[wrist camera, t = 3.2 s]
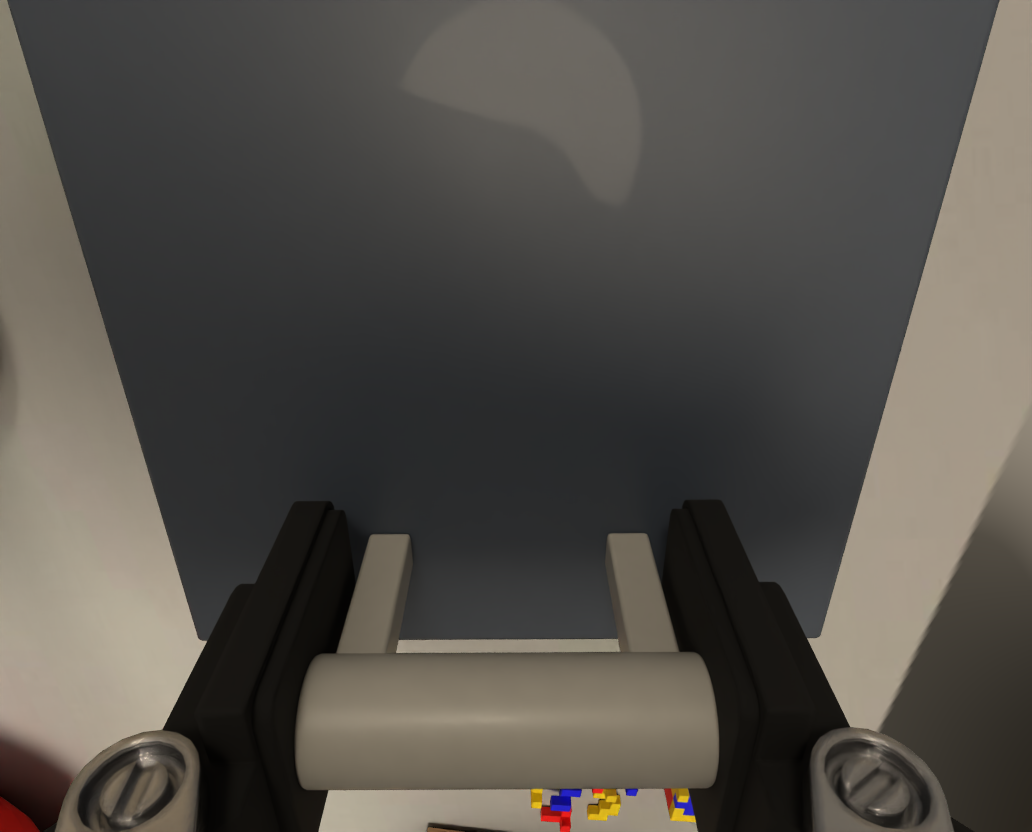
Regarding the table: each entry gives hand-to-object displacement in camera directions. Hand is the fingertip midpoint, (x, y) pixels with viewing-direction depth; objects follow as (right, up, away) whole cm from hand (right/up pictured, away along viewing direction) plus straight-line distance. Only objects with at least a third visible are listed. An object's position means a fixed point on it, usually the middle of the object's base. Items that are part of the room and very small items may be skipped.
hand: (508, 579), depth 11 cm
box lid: (0, +5, -1) cm, 5 cm away
